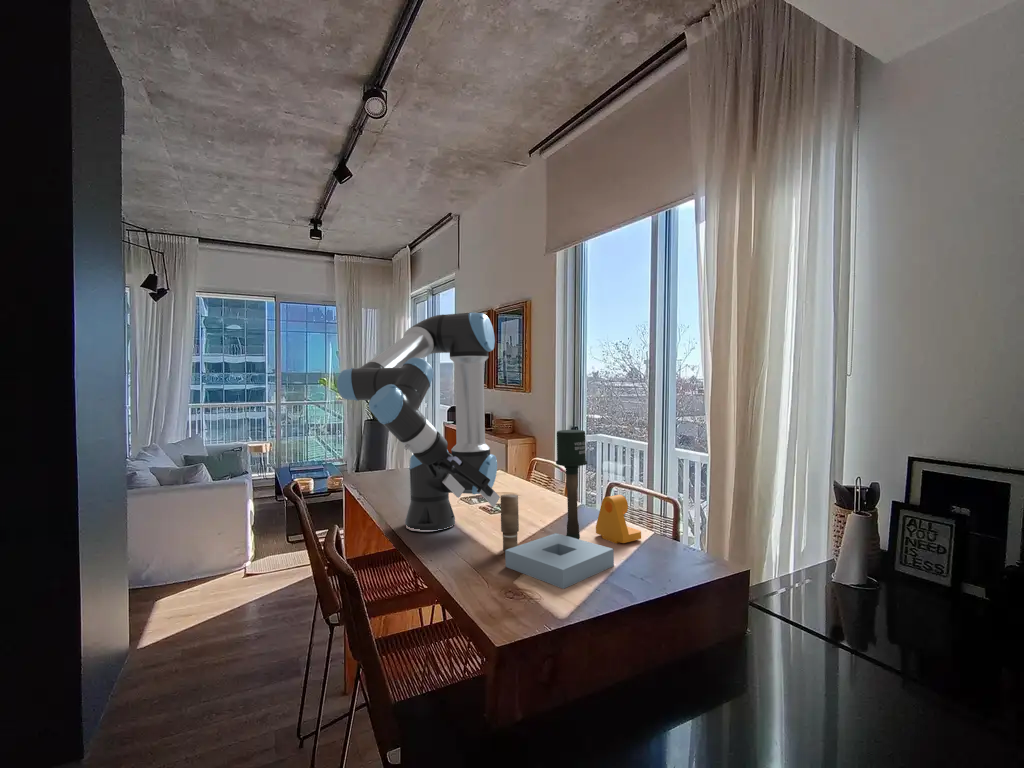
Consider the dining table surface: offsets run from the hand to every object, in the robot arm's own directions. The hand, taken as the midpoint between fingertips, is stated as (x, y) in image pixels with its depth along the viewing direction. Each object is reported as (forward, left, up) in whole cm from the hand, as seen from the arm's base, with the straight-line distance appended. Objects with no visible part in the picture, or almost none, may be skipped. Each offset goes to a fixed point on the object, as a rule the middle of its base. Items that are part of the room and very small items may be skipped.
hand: (478, 497), depth 122 cm
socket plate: (+17, +10, -15) cm, 25 cm away
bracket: (+15, +37, -16) cm, 43 cm away
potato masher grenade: (+7, +27, -16) cm, 32 cm away
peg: (0, +10, -15) cm, 19 cm away
